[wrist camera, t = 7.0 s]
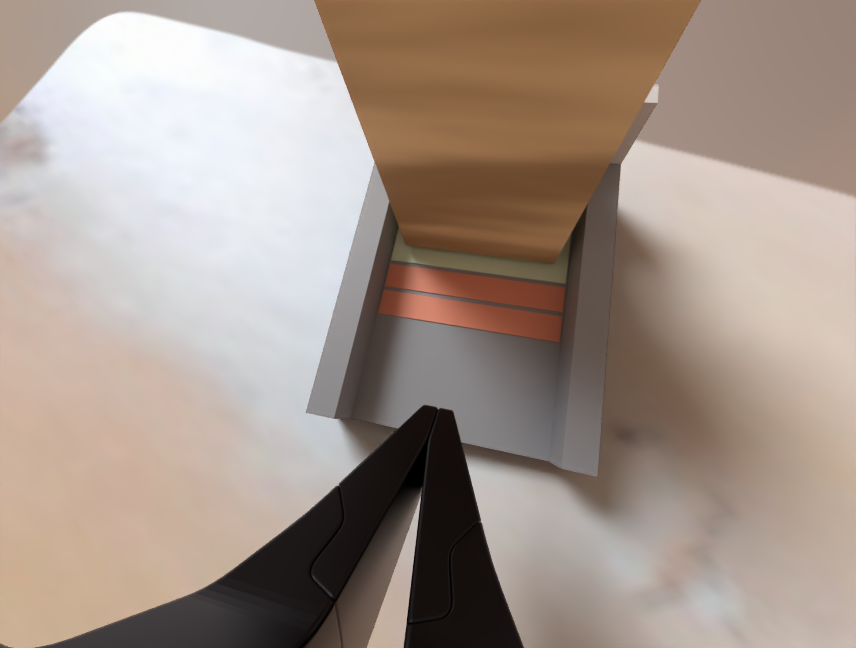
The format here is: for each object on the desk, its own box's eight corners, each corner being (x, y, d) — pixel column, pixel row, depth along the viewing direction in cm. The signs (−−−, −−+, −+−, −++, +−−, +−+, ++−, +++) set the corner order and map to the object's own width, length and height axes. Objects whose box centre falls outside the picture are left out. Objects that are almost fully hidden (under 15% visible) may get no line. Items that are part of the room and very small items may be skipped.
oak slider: (553, 263, 15) (848, -263, 3) (405, 245, 17) (239, -201, 5) (562, 188, 16) (820, -435, 4) (422, 175, 17) (319, -347, 6)
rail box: (572, 464, 15) (639, 496, 9) (334, 412, 16) (261, 411, 11) (597, 191, 18) (658, 84, 12) (395, 173, 20) (365, 72, 14)
